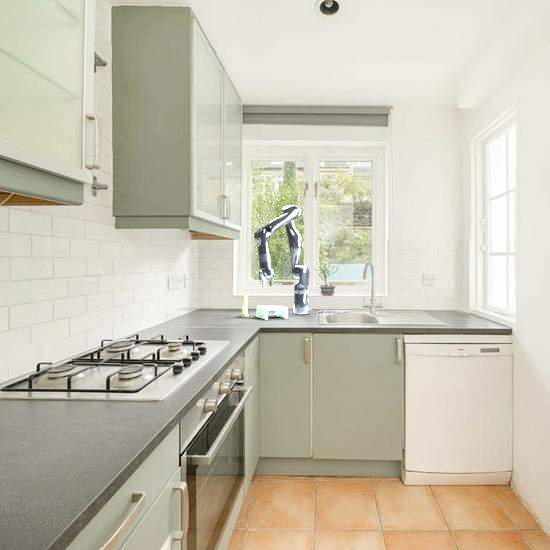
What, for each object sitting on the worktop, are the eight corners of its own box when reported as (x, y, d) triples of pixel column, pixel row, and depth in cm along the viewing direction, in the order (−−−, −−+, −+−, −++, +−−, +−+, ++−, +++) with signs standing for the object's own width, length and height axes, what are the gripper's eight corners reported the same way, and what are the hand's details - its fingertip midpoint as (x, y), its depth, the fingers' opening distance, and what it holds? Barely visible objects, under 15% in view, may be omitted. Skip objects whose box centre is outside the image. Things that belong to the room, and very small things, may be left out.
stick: (246, 315, 308) (246, 294, 307) (249, 316, 303) (250, 295, 302) (239, 315, 305) (239, 294, 305) (242, 316, 301) (242, 295, 300)
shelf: (277, 315, 309) (278, 305, 309) (287, 318, 297) (287, 307, 297) (256, 316, 302) (256, 306, 302) (264, 319, 290) (265, 308, 290)
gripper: (276, 259, 290) (279, 285, 290) (263, 261, 302) (266, 286, 302) (266, 260, 286) (269, 286, 286) (254, 262, 298) (257, 287, 298)
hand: (268, 286), depth 294 cm, fingers open, 8 cm apart
